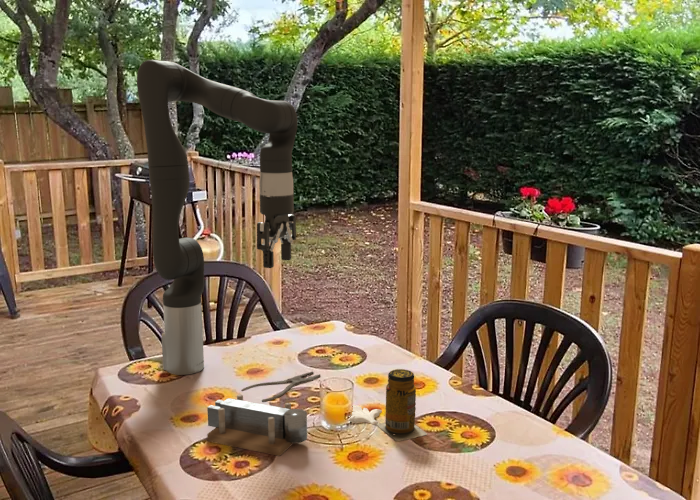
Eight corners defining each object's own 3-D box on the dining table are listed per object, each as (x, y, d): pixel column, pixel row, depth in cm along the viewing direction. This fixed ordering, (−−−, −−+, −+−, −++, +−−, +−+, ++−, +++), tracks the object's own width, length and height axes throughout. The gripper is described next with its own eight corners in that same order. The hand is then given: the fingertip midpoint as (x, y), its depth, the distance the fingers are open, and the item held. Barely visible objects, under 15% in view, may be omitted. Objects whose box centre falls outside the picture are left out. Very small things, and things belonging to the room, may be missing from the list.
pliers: (235, 391, 157) (292, 365, 173) (235, 394, 157) (292, 369, 173) (266, 401, 152) (322, 374, 167) (266, 404, 152) (322, 377, 168)
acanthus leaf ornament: (345, 426, 142) (344, 418, 141) (347, 412, 148) (347, 404, 148) (381, 427, 141) (381, 418, 141) (381, 413, 148) (381, 405, 148)
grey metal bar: (207, 426, 137) (206, 403, 136) (219, 417, 141) (218, 394, 140) (301, 444, 129) (300, 420, 128) (310, 434, 133) (310, 411, 132)
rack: (207, 441, 134) (206, 410, 133) (234, 420, 143) (233, 391, 142) (279, 456, 128) (279, 423, 127) (302, 433, 137) (302, 403, 136)
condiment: (406, 418, 144) (407, 365, 142) (427, 435, 137) (429, 378, 134) (376, 425, 141) (376, 370, 139) (396, 442, 134) (397, 385, 131)
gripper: (276, 188, 159) (277, 256, 162) (245, 195, 146) (247, 268, 149) (305, 190, 156) (306, 259, 159) (276, 196, 143) (277, 272, 146)
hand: (277, 263), depth 154 cm, fingers open, 8 cm apart
